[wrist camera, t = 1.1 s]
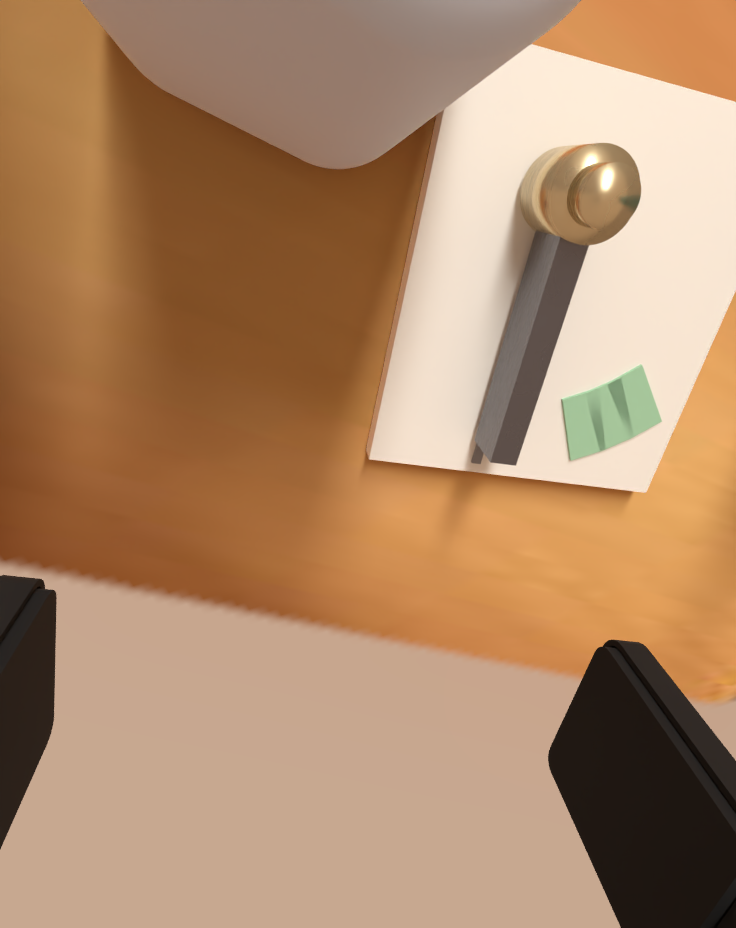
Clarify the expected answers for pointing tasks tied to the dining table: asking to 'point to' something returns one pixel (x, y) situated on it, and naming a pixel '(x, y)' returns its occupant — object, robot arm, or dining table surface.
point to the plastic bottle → (324, 62)
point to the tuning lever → (552, 275)
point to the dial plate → (598, 286)
